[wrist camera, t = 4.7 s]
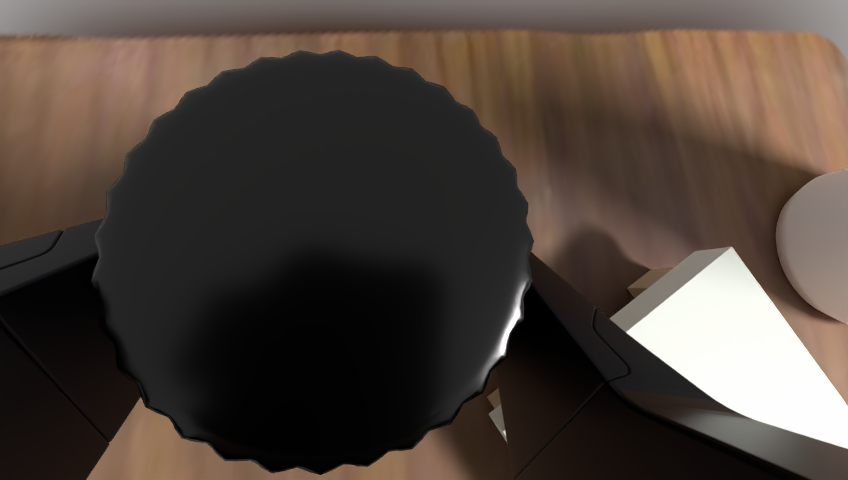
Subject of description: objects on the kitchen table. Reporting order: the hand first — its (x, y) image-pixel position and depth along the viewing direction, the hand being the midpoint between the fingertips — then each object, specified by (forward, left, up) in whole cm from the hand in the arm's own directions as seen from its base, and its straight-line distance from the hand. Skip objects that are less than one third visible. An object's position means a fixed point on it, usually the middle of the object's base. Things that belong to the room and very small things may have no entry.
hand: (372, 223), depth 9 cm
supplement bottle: (-1, -1, -7) cm, 7 cm away
